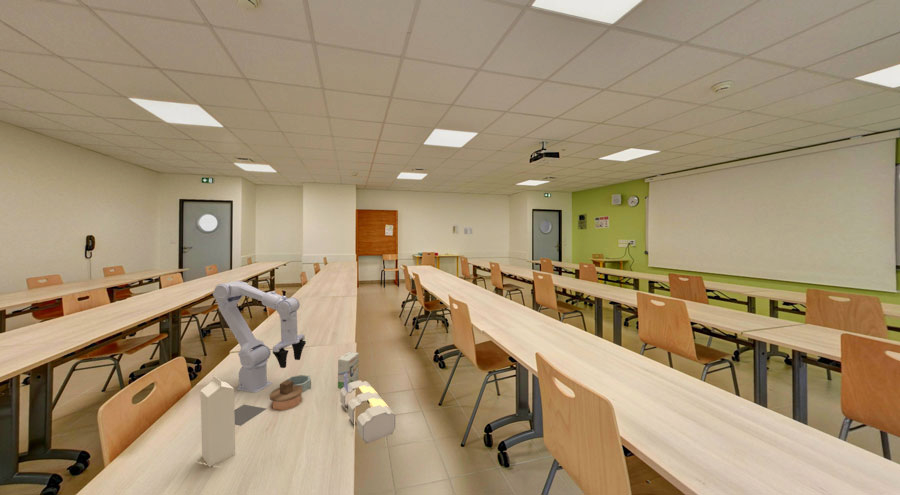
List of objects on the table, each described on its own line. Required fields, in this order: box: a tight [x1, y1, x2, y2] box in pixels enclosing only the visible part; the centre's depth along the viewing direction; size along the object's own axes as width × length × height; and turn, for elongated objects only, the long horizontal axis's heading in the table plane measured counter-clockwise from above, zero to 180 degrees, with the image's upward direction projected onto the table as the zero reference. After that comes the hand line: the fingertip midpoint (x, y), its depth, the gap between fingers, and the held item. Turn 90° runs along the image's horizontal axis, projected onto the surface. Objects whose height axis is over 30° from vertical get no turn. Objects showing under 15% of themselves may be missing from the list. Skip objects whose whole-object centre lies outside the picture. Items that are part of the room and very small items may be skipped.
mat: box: [234, 404, 268, 427], centre depth 104 cm, size 10×10×1 cm
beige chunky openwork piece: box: [339, 373, 396, 445], centre depth 102 cm, size 25×10×13 cm, turn 34°
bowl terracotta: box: [272, 393, 302, 411], centre depth 111 cm, size 9×9×4 cm
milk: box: [200, 374, 236, 468], centre depth 84 cm, size 6×6×22 cm
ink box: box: [337, 351, 360, 389], centre depth 126 cm, size 9×5×12 cm, turn 168°
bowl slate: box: [286, 374, 312, 393], centre depth 122 cm, size 9×9×4 cm
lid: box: [269, 379, 303, 402], centre depth 111 cm, size 10×10×4 cm
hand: (290, 363), depth 121 cm, fingers open, 7 cm apart
